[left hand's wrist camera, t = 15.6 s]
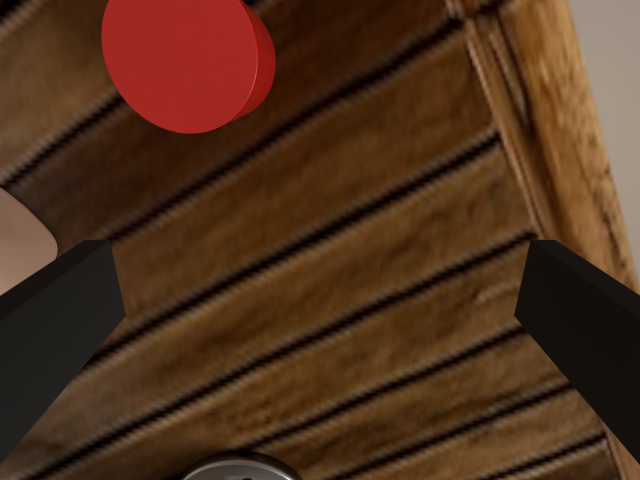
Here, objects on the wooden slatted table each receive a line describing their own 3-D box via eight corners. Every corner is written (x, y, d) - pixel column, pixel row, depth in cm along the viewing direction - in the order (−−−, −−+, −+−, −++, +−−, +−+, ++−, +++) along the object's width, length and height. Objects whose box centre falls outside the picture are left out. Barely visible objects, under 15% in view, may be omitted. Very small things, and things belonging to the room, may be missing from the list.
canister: (153, -7, 25) (85, -41, 18) (273, -6, 25) (253, -40, 18) (170, 118, 28) (117, 132, 21) (277, 120, 28) (261, 134, 21)
